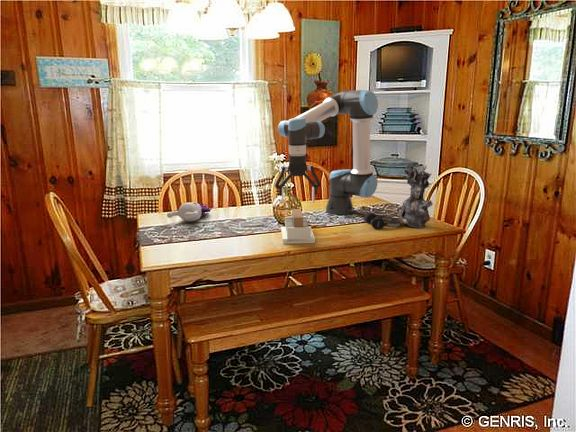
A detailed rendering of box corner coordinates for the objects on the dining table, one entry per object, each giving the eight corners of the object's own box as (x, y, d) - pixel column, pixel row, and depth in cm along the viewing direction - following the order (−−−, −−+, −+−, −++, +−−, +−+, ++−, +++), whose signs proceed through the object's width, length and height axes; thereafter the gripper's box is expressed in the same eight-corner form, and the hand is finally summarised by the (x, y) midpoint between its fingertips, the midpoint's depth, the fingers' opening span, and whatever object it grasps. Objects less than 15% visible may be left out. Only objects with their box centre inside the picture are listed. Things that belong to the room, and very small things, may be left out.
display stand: (281, 230, 209) (280, 216, 207) (310, 230, 210) (310, 216, 208) (282, 243, 191) (282, 228, 189) (315, 243, 192) (315, 227, 190)
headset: (358, 203, 221) (395, 205, 225) (355, 221, 223) (392, 224, 227) (367, 209, 208) (407, 212, 212) (364, 229, 210) (403, 231, 214)
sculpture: (415, 231, 208) (420, 168, 201) (393, 223, 221) (396, 164, 213) (436, 226, 215) (442, 165, 208) (413, 219, 228) (418, 162, 220)
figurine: (220, 200, 239) (190, 203, 211) (221, 218, 240) (191, 223, 211) (195, 201, 244) (162, 203, 216) (195, 218, 245) (163, 223, 217)
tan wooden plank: (291, 219, 206) (291, 209, 204) (300, 219, 206) (300, 209, 205) (293, 228, 191) (293, 217, 190) (303, 228, 191) (303, 217, 190)
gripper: (268, 156, 187) (270, 205, 192) (327, 155, 188) (327, 203, 194) (268, 154, 194) (269, 201, 200) (324, 152, 195) (324, 199, 201)
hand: (298, 202), depth 197 cm, fingers open, 13 cm apart
